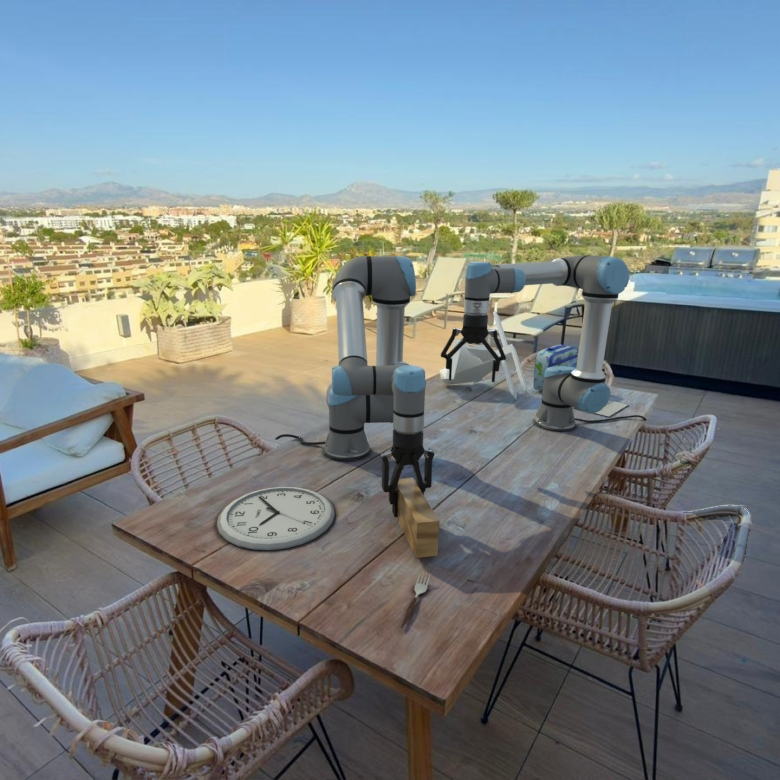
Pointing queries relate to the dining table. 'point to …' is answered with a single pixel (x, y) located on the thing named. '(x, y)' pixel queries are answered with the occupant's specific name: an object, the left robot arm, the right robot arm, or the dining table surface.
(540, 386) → the lunch box
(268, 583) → the dining table surface
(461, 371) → the white plastic object
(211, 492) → the dining table surface
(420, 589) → the fork
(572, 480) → the dining table surface
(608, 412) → the invitation card
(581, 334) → the right robot arm
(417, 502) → the bar
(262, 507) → the wall clock
